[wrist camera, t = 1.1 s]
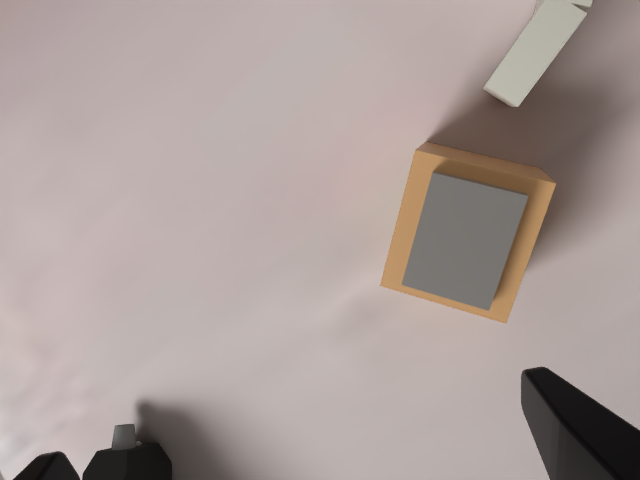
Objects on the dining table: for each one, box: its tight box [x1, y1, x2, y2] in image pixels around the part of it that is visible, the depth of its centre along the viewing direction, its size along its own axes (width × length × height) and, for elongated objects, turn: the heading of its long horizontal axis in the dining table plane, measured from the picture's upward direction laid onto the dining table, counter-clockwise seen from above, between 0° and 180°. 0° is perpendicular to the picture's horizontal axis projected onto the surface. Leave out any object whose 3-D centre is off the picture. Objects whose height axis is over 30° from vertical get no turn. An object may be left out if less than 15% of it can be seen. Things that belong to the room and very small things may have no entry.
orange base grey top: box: [380, 142, 556, 323], centre depth 18 cm, size 4×5×5 cm
